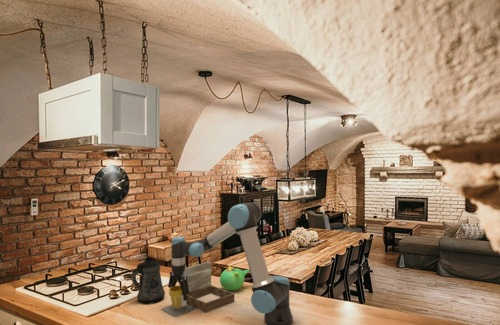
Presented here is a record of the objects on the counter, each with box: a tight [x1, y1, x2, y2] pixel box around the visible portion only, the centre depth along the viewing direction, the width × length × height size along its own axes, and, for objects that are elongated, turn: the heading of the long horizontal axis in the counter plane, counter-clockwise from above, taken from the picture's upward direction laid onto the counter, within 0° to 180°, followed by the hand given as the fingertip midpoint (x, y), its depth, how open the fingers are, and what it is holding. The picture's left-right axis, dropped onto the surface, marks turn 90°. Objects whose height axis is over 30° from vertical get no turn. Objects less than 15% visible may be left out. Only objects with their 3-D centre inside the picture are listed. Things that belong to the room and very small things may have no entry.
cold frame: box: [183, 261, 235, 314], centre depth 208 cm, size 23×22×20 cm
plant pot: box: [168, 284, 182, 308], centre depth 197 cm, size 10×10×10 cm
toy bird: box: [219, 266, 250, 291], centre depth 229 cm, size 18×17×15 cm
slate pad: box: [160, 304, 197, 318], centre depth 197 cm, size 14×14×1 cm
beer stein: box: [130, 257, 166, 305], centre depth 212 cm, size 16×19×25 cm
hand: (178, 303), depth 197 cm, fingers closed on plant pot, 10 cm apart
